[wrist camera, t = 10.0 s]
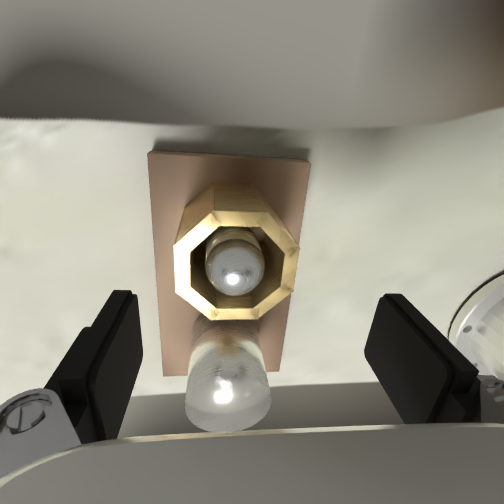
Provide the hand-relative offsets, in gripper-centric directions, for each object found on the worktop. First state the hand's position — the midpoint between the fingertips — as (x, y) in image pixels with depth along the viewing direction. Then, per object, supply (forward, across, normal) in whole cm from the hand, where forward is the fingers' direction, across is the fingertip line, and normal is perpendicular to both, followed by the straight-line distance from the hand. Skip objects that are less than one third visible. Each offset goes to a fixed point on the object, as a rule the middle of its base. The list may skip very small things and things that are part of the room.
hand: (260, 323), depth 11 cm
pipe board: (+11, +1, +4) cm, 12 cm away
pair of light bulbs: (+10, +1, +5) cm, 11 cm away
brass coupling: (+10, +1, 0) cm, 10 cm away
